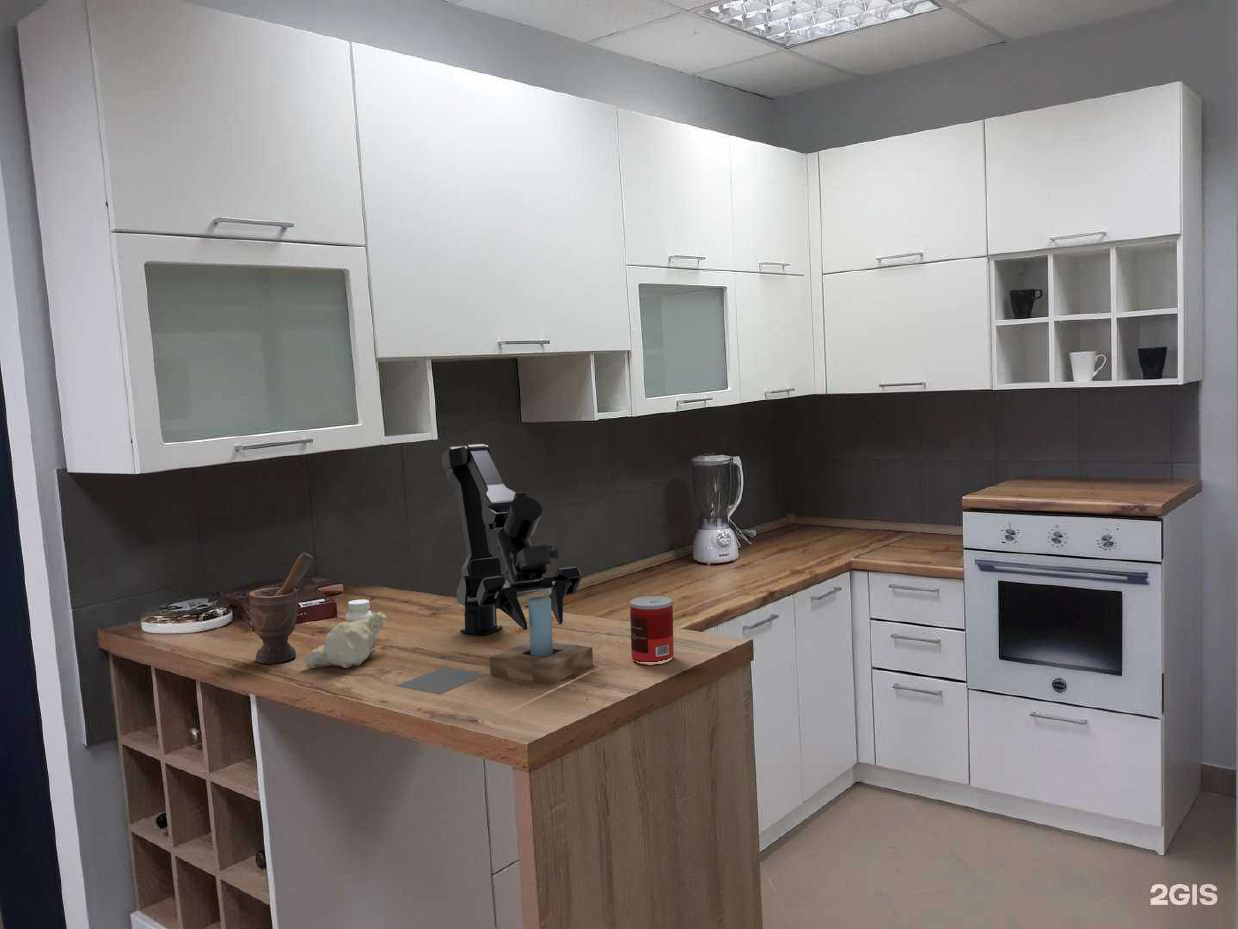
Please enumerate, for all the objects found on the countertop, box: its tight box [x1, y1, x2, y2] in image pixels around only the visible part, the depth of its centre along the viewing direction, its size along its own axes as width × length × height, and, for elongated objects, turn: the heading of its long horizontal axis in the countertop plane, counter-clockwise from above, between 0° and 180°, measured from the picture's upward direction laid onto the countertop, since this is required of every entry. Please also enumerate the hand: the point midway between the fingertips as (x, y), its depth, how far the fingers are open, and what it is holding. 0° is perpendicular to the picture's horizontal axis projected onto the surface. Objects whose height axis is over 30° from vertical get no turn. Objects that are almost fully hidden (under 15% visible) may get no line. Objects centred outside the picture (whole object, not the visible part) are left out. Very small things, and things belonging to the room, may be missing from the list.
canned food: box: [629, 595, 675, 662], centre depth 182 cm, size 8×8×11 cm
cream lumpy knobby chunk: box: [303, 611, 388, 669], centre depth 185 cm, size 15×7×15 cm
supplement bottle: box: [344, 599, 376, 652], centre depth 194 cm, size 5×5×10 cm
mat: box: [395, 666, 487, 695], centre depth 173 cm, size 12×10×1 cm
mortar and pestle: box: [248, 552, 314, 665], centre depth 190 cm, size 12×9×20 cm
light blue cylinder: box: [528, 596, 554, 658], centre depth 177 cm, size 4×4×13 cm
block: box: [489, 640, 594, 686], centre depth 177 cm, size 13×13×4 cm
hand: (543, 625), depth 175 cm, fingers open, 6 cm apart
